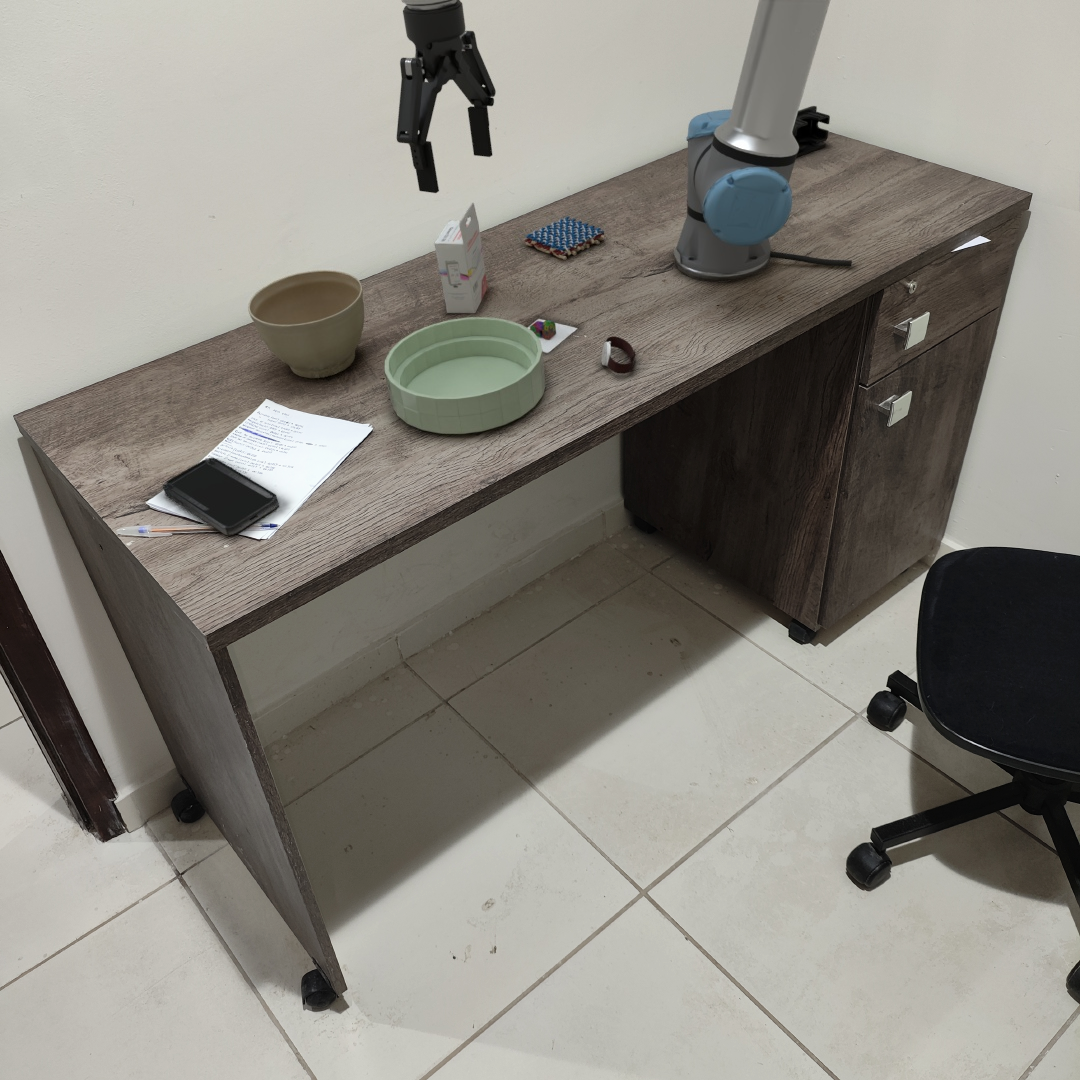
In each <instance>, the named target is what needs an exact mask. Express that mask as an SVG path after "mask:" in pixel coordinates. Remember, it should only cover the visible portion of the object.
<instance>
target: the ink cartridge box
mask: <svg viewBox="0 0 1080 1080" xmlns="http://www.w3.org/2000/svg"><path fill="white" fill-rule="evenodd" d="M469 218H470V220H468V219H469ZM433 246H434V249H435V254H436V260H437V265H438V271H439V276H440V282H441V287H442V292H443V298H444V303H445V309H446V313H447V314H476V312H477V310H478V309H479V306H480V304H481V302H482V301H483V298H484V297H485V295H486V292H487V291H488V282H487V274H486V269H485V268H486V267H485V259H484V253H483V246H482V238H481V230H480V224H479V219H478V215H477V211H476V206H475V203H474V202H471V203H470V205H469V206H468V208H467V209H466V211H465V213H464V214H463V216H462V217H461V219H460V220H448V221H447V223H446V225H445V226H444V228H443V230H442V231H441V233H440V234H439V235H438V236H437V238H436V240H435V242H434V243H433Z"/></svg>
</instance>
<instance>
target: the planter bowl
mask: <svg viewBox="0 0 1080 1080" xmlns="http://www.w3.org/2000/svg"><path fill="white" fill-rule="evenodd" d="M247 312H248V314H249V316H250V318H251V320H252V322H254V325H255V329H256V330H257V333H258V334H259V337H260V338H261V340H262V341H263V344H264V345H265V346H266V347H267V348H268V350H270V352H272V354H273V355H274V356H276V358H278V359H279V360H280V361H282V362H283V363H284V364H286V365H288V366H289V367H290V370H291V371H292V372H293V373H294V374H295V375H296V376H299V377H302V378H306V379H323V378H327V377H331V376H334V375H336V374H340V373H341V372H343V371H344V370H346V369H347V368H349V367H350V366H351V365H352V364H353V362H354V361H355V358H356V357H355V356H356V352H355V351H356V349H357V347H358V345H359V343H360V340H361V339H362V338H361V337H362V333H363V329H364V324H365V304H364V289H363V286H362V282H361V281H360V280H359V279H358V277H355V276H354V275H352V274H349V273H347V272H344V271H338V270H329V269H328V270H326V269H323V270H322V269H320V270H310V271H309V270H307V271H304V272H297V273H294V274H291V275H287V276H284V277H281V278H278V279H276V280H274V281H272V282H270V283H269V284H267V285H265V286H264V287H262V288H260V289H259V290H258V291H256V293H254V294H253V295H252V297H251V298H250V300H249V302H248V305H247Z"/></svg>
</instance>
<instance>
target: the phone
mask: <svg viewBox="0 0 1080 1080" xmlns="http://www.w3.org/2000/svg"><path fill="white" fill-rule="evenodd" d="M162 489H163V491H164V493H165V494H164V495H165V496H166V497H168V498H169V499H171V500H172V501H174V502H175V503H177V504H178V505H180V506H181V507H183V508H185V509H186V510H187V511H189V512H191V513H192V514H193V515H195V516H196V517H197V518H199V519H201V520H202V521H204V522H205V523H207V524H208V525H209V526H211V527H213V528H214V529H216V530H217V531H219V532H220V533H222V534H223V535H225V536H235V535H237V534H238V533H240V532H242V531H243V530H245V529H246V528H248V527H249V526H251V525H252V524H254V523H256V522H257V521H259V520H261V519H263V518H264V517H265V516H267V515H268V514H270V513H271V512H273V511H275V510H276V509H278V507H279V505H280V504H279V499H278V497H277V494H276V493H275V492H272V491H271V490H269V489H268V488H266V487H264V486H263V485H262V484H259V483H258V482H256V481H254V480H252V479H251V478H249V477H248V476H246V475H244V474H242V473H241V472H239V471H237V470H236V469H234V468H233V467H231V466H229V465H228V464H227V463H225V462H223V461H221V460H220V459H217V458H215V457H208V458H205V459H203V460H201V461H199V462H198V463H196V464H194V465H193V466H190V467H188V468H187V469H186V470H184V471H182V472H180V473H179V474H177V475H175V476H173V477H172V478H169V479H168V480H167V481H164V483H163V484H162Z"/></svg>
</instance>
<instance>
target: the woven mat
mask: <svg viewBox="0 0 1080 1080" xmlns="http://www.w3.org/2000/svg"><path fill="white" fill-rule="evenodd" d="M576 220H577V219H576V218H570V216H566V217H565V218H559V219H558V220H557V222H555V221H552V223H551V224H546V226H543V227H539V229H538V230H533V232H531V233H528V234H527V235H526V236H525V238H526V239H524V243H525V245H526V246H529V247H534V248H535V249H536V250H538V251H539V252H542V253H546V254H551V255H553V256H555V257H556V258H558V259H561V260H563V261H566V260H567V259H568V258H567V256H570V255H572V256H577V252H580V251H584V250H585V249H590V245H594V244H595V245H596V246H597V245H599V244H601V242H600V241H603V240H604V239H605V231H604V230H603V229H602V228H601V227H595V226H596V225H589V223H587V222H585V223H583V221H582V220H578V221H576Z"/></svg>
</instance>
